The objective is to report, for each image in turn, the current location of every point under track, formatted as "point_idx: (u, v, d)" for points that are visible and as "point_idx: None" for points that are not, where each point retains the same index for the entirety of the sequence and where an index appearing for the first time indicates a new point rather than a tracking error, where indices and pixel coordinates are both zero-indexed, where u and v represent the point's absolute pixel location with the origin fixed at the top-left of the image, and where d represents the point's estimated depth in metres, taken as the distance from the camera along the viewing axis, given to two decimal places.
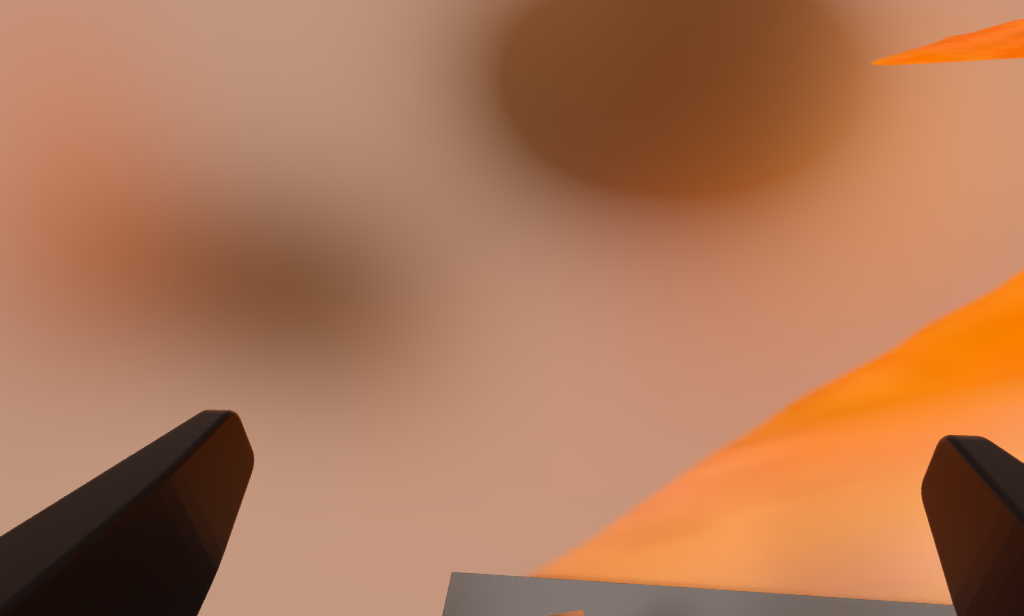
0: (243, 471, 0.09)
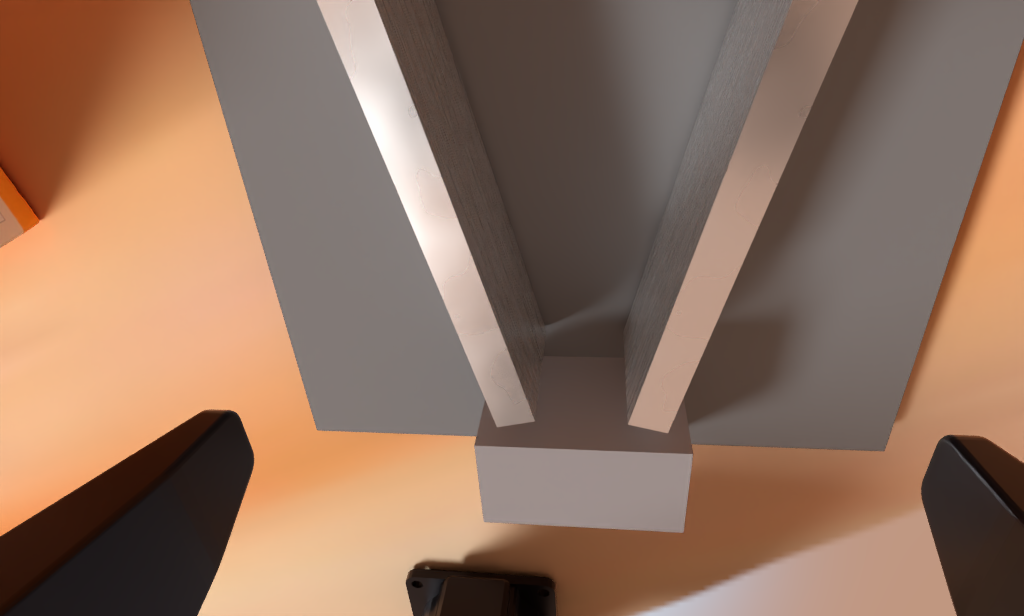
0: (243, 471, 0.09)
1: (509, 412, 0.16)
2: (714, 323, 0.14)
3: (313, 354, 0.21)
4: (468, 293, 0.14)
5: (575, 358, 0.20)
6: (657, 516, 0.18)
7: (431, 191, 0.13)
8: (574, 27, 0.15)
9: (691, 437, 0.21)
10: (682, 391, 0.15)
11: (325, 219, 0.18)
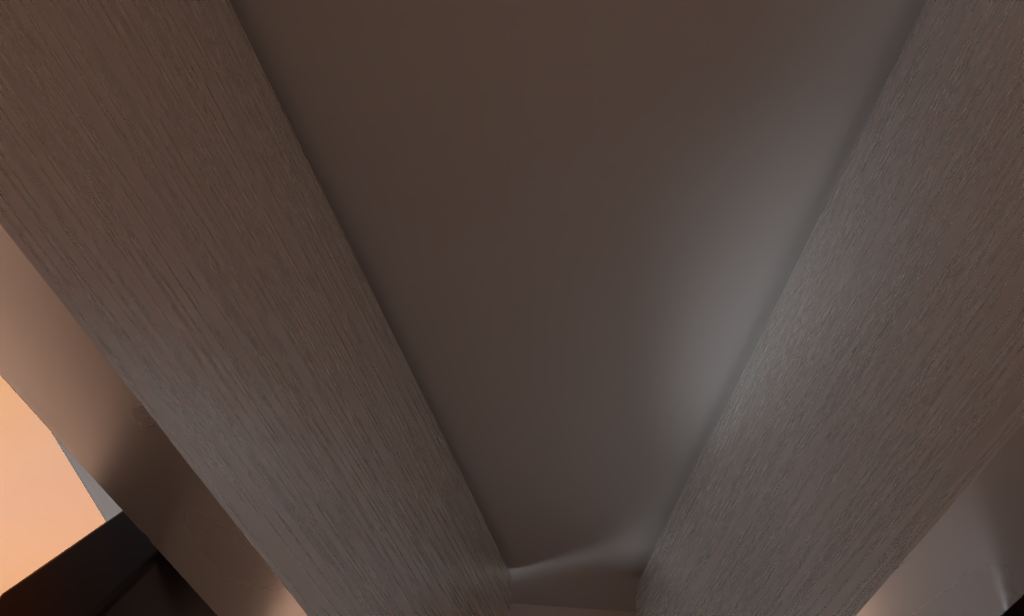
0: None
1: None
2: None
3: None
4: None
5: (560, 611, 0.13)
6: None
7: (224, 549, 0.06)
8: (548, 144, 0.08)
9: None
10: None
11: None
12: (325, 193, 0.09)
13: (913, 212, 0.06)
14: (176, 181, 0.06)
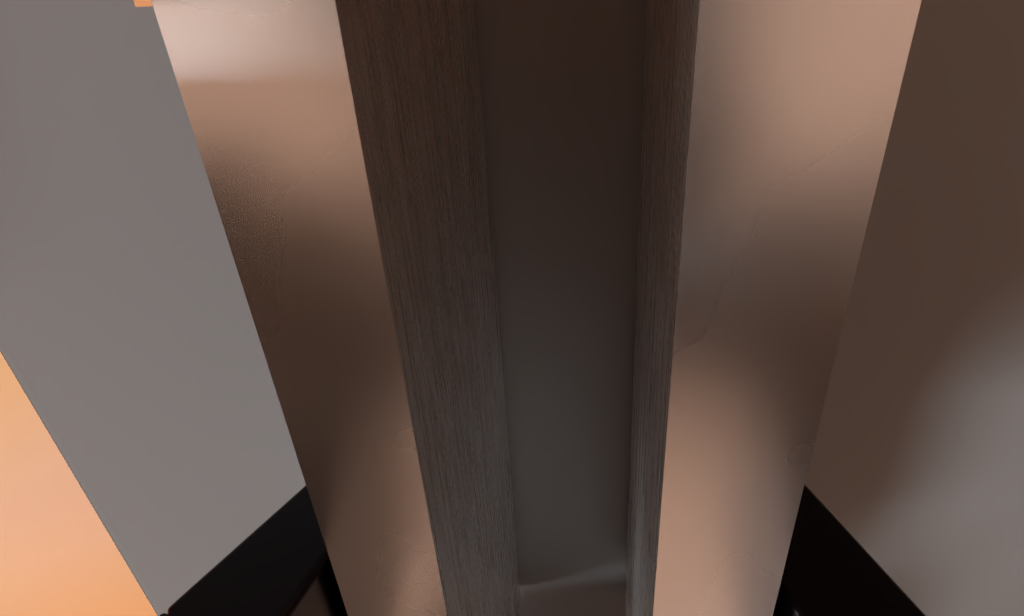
0: None
1: None
2: None
3: (170, 594, 0.14)
4: None
5: None
6: None
7: (405, 569, 0.06)
8: (548, 171, 0.08)
9: None
10: None
11: (155, 435, 0.12)
12: None
13: (649, 231, 0.06)
14: (441, 192, 0.06)
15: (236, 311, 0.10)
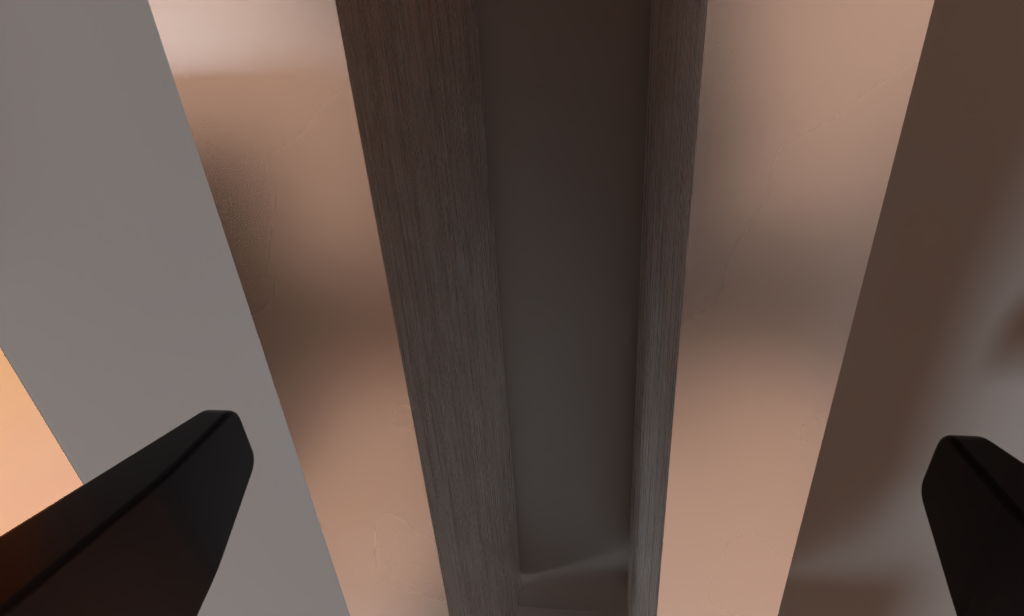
0: (243, 471, 0.09)
1: None
2: None
3: None
4: None
5: (560, 614, 0.13)
6: None
7: (404, 552, 0.06)
8: (549, 148, 0.08)
9: None
10: None
11: (152, 423, 0.11)
12: None
13: (654, 205, 0.06)
14: (440, 163, 0.05)
15: (231, 294, 0.10)
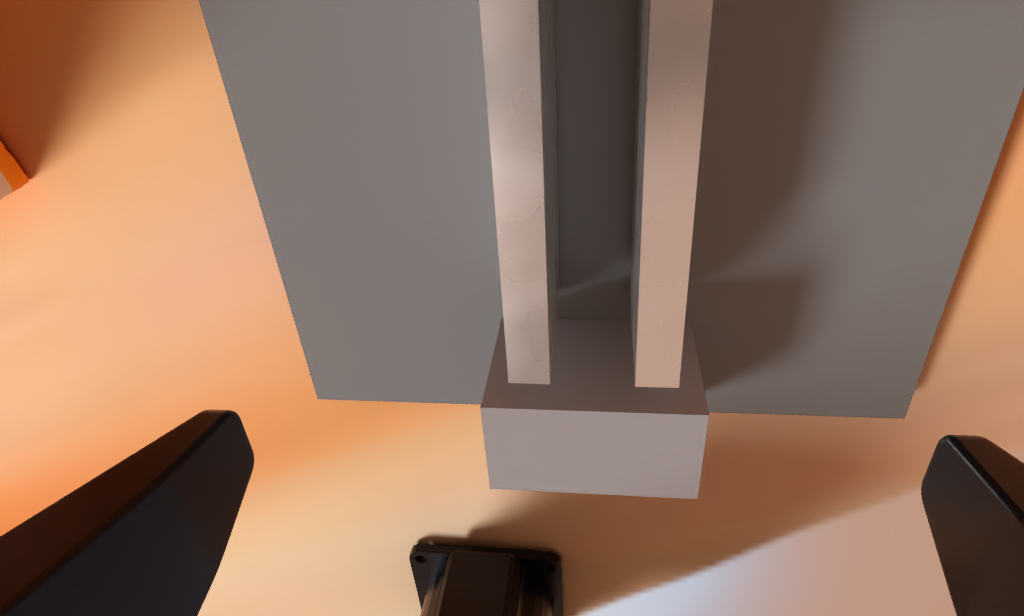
0: (243, 471, 0.09)
1: (526, 370, 0.15)
2: (688, 262, 0.13)
3: (313, 319, 0.21)
4: (527, 237, 0.13)
5: (584, 321, 0.19)
6: (669, 481, 0.17)
7: (525, 118, 0.12)
8: None
9: None
10: (679, 341, 0.14)
11: (324, 174, 0.18)
12: None
13: None
14: None
15: (391, 70, 0.16)
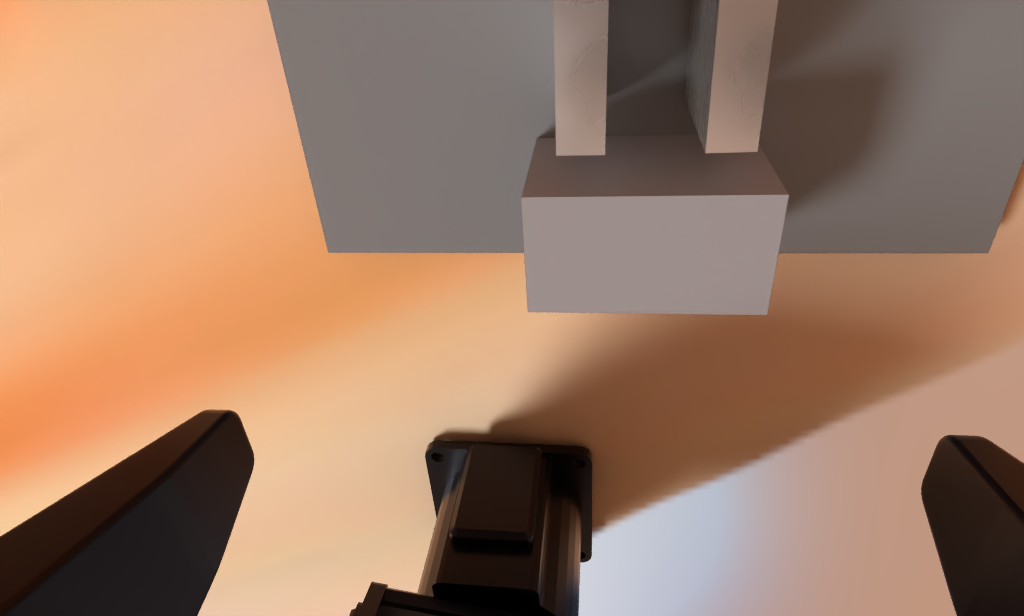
0: (243, 471, 0.09)
1: (578, 135, 0.13)
2: None
3: (324, 146, 0.18)
4: None
5: (631, 136, 0.17)
6: (736, 291, 0.15)
7: None
8: None
9: None
10: (762, 83, 0.12)
11: None
12: None
13: None
14: None
15: None
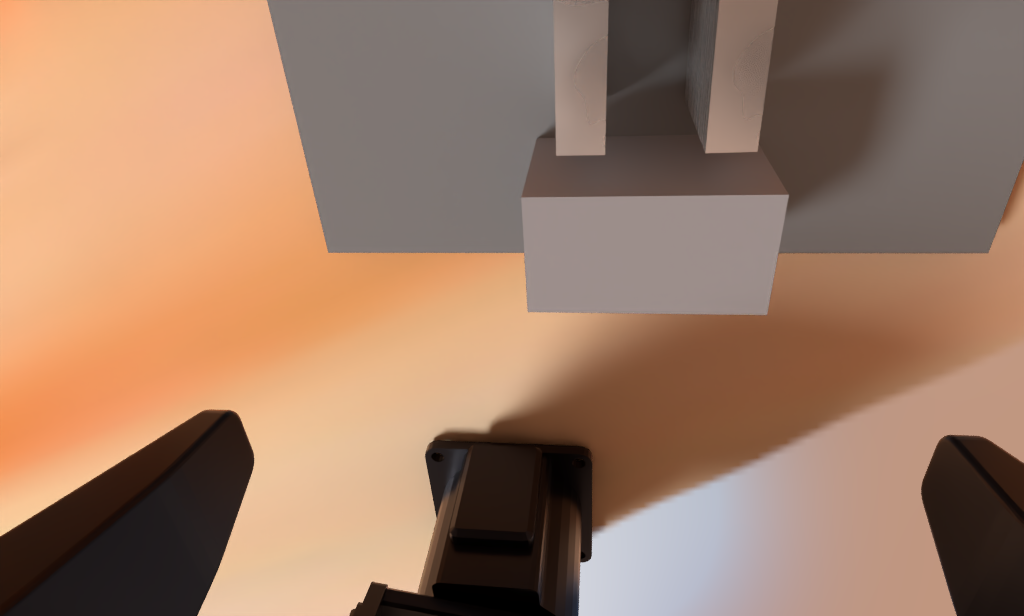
0: (243, 471, 0.09)
1: (578, 135, 0.13)
2: None
3: (324, 147, 0.18)
4: None
5: (631, 136, 0.17)
6: (736, 291, 0.15)
7: None
8: None
9: None
10: (762, 83, 0.12)
11: None
12: None
13: None
14: None
15: None
